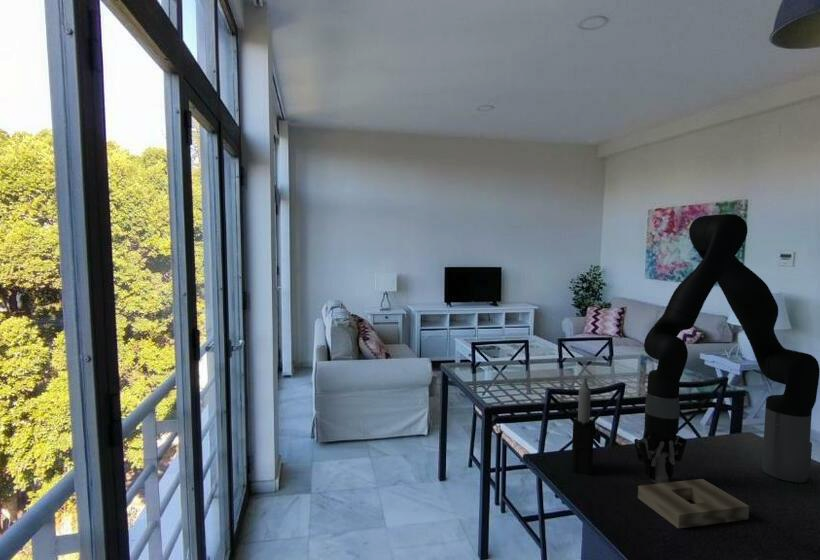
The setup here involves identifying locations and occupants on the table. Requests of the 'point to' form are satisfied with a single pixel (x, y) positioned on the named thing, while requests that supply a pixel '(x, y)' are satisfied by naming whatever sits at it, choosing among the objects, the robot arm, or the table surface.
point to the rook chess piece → (661, 469)
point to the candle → (583, 434)
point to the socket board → (682, 514)
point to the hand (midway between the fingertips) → (658, 477)
